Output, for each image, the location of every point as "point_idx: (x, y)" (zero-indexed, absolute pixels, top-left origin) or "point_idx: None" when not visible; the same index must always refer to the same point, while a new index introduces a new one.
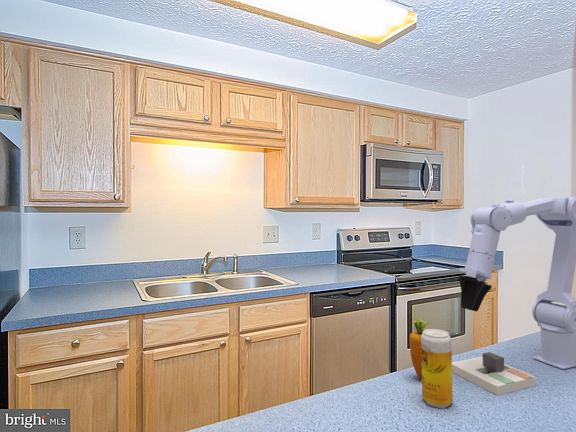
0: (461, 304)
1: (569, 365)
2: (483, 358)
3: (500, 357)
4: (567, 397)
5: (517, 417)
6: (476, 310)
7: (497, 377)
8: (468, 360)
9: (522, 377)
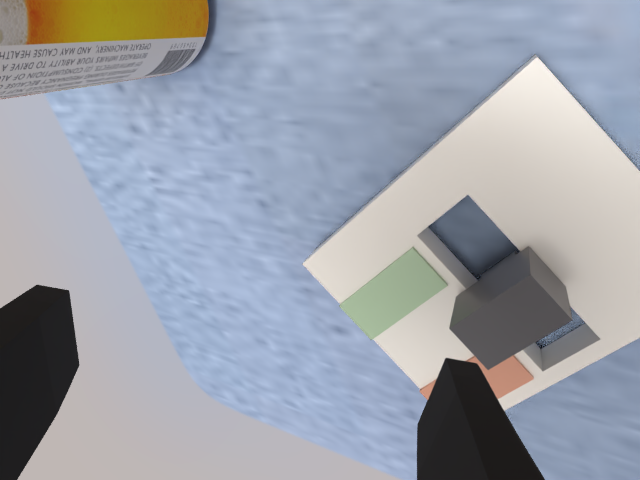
0: (10, 303)
1: None
2: (523, 265)
3: (485, 354)
4: (393, 467)
5: (186, 276)
6: (422, 433)
7: (388, 284)
8: (615, 176)
9: (431, 383)
